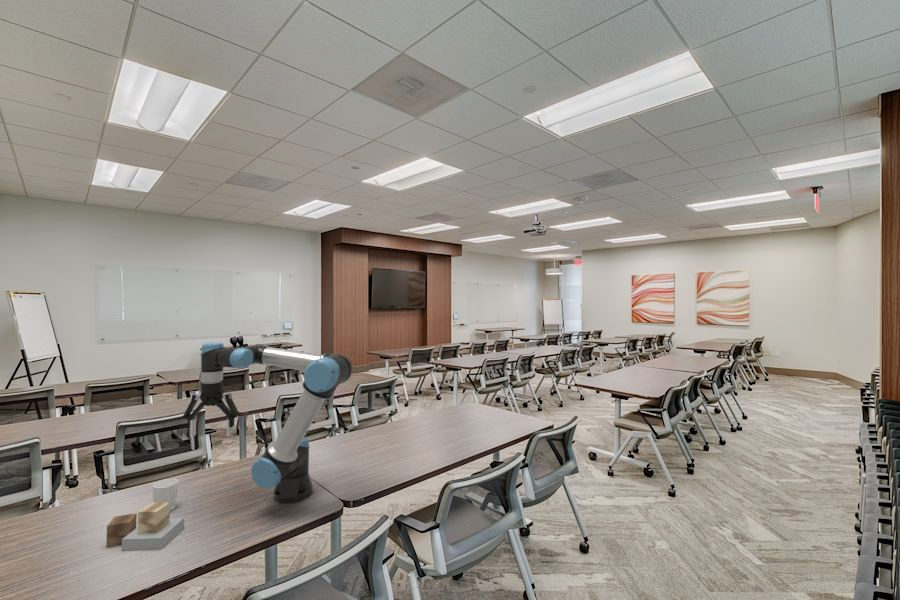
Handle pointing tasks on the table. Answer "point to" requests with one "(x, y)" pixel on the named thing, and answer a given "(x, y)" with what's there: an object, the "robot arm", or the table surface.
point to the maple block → (153, 517)
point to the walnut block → (120, 529)
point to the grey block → (153, 537)
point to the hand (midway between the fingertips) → (211, 435)
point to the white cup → (166, 492)
